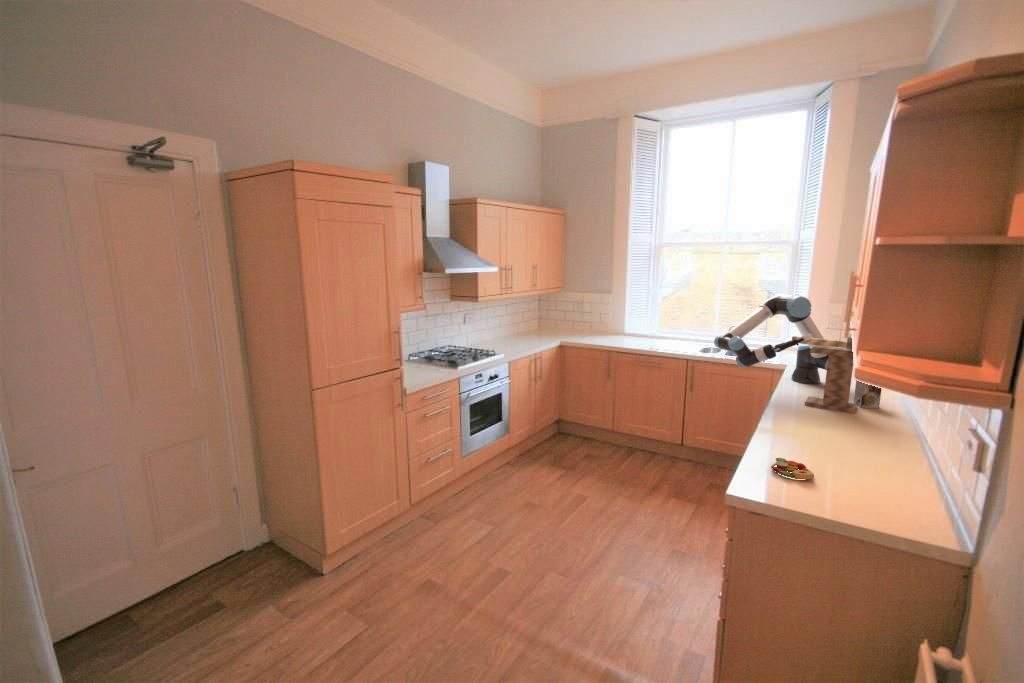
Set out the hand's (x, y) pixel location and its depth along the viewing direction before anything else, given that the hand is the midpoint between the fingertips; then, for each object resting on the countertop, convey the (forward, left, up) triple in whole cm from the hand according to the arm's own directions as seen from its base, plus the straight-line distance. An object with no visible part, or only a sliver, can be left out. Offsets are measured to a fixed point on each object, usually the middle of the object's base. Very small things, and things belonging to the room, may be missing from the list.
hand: (811, 335), depth 239 cm
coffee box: (-22, +18, -36) cm, 46 cm away
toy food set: (+84, +51, -36) cm, 105 cm away
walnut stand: (-5, +11, -36) cm, 38 cm away
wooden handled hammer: (-2, +5, -4) cm, 7 cm away
